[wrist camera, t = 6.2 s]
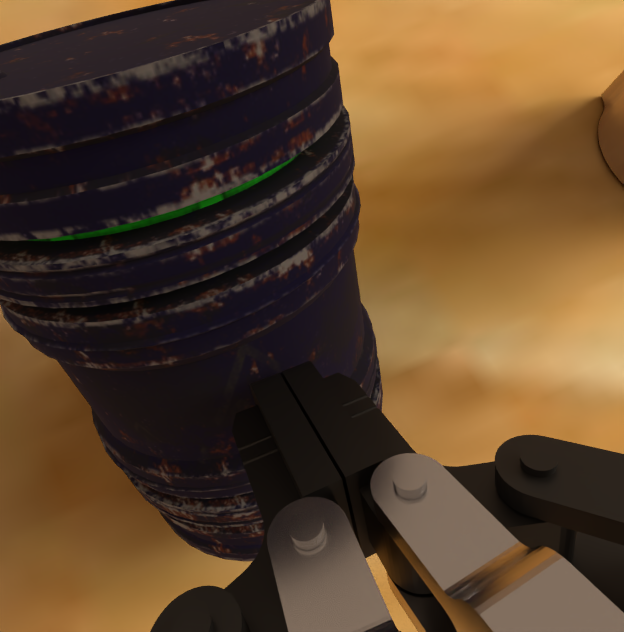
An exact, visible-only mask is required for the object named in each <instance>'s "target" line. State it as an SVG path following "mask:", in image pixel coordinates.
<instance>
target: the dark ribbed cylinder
mask: <svg viewBox="0 0 624 632" xmlns="http://www.w3.org/2000/svg"><path fill="white" fill-rule="evenodd" d="M333 35H334V28H333V20H332V12H331V4H330V0H174V1H169V2H165V3H160V4H155V5H151V6H146V7H142V8H137V9H133V10H129V11H124V12H120V13H116V14H112V15H108V16H104V17H100V18H96V19H92V20H88V21H84V22H80V23H76V24H72V25H69V26H65V27H61V28H58V29H54V30H50V31H47V32H43V33H40V34H36V35H32V36H29V37H25V38H22V39H19V40H15V41H12V42H9V43H5V44H2V45H0V305H1V308H2V312H3V315H4V318H5V319H6V320H7V322H8V323H9V324H10V325H11V327H12V328H13V329H14V330H15V331H17V332H18V333H20V334H21V335H23V336H24V337H26V338H27V340H28V341H29V342H30V343H31V345H32V346H33V347H34V348H36V349H37V350H39V351H40V352H42V353H44V354H45V355H47V356H48V357H50V358H53V359H56V360H57V361H58V362H59V363H60V365H61V366H62V368H63V369H64V370H65V372H66V373H67V374H68V376H69V377H70V379H71V380H72V381H73V383H74V384H75V385H76V387H77V388H78V389H79V391H80V392H81V394H82V395H83V396H84V398H85V399H86V400H87V402H88V403H89V405H90V406H91V408H92V415H93V422H94V425H95V427H96V429H97V431H98V434H99V436H100V438H101V441H102V443H103V445H104V448H105V450H106V452H107V453H108V455H109V456H110V457H111V458H112V460H113V461H114V462H115V464H116V465H117V466H118V467H120V468H121V469H122V470H123V471H124V473H125V474H126V475H127V477H128V478H129V479H130V480H131V482H132V483H133V484H134V486H135V487H136V488H137V489H138V491H139V492H140V493H141V495H142V496H143V497H144V498H145V500H147V501H148V502H149V503H150V504H152V505H153V506H154V507H155V508H157V509H158V510H159V511H160V513H161V515H162V516H163V517H164V519H165V520H166V521H167V523H168V524H169V525H170V526H171V528H172V529H173V530H174V532H175V533H176V534H177V535H178V536H180V537H181V538H182V539H183V540H184V541H186V542H187V543H188V544H189V545H191V546H193V547H195V548H196V549H198V550H200V551H202V552H204V553H206V554H209V555H213V556H216V557H219V558H223V559H228V560H238V561H254V559H255V558H256V556H257V554H258V553H259V550H260V548H261V546H262V542H263V538H264V523H263V519H262V516H261V513H260V510H259V507H258V504H257V502H256V499H255V496H254V493H253V490H252V487H251V485H250V482H249V479H248V476H247V473H246V470H245V468H244V465H243V462H242V459H241V456H240V453H239V450H238V448H237V445H236V442H235V439H234V436H233V433H232V428H233V423H234V419H235V414H236V413H238V412H241V411H243V410H246V409H248V408H251V407H253V406H256V404H255V401H254V398H253V395H252V392H251V389H250V384H251V383H254V382H256V381H259V380H261V379H264V378H267V377H269V376H272V375H274V374H277V373H280V375H281V372H282V371H284V370H287V369H289V368H292V367H295V366H297V365H300V364H302V363H305V362H307V361H311V362H312V363H313V365H314V366H315V368H316V369H317V370H318V372H319V373H320V374H321V376H322V377H323V378H325V377H328V376H330V375H333V374H335V373H340V374H343V375H345V376H347V377H349V378H351V379H353V380H355V381H356V382H357V383H358V384H359V385H360V387H361V388H362V389H363V390H364V391H365V393H366V394H367V396H368V397H370V399H371V400H372V401H373V402H374V403H375V405H376V407H377V408H379V409H380V411H381V412H382V397H383V392H382V383H381V375H380V368H379V360H378V357H377V347H376V338H375V335H374V332H373V329H372V323H371V321H370V318H369V315H368V313H367V310H366V309H365V307H364V306H363V304H362V303H361V301H360V293H359V286H358V279H357V272H356V264H355V257H354V250H353V248H354V246H355V244H356V242H357V237H358V231H359V220H358V217H359V212H360V206H361V204H360V197H359V192H358V190H357V188H356V186H355V184H354V180H353V170H354V166H355V161H354V153H353V144H352V136H351V127H350V120H349V113H348V112H347V110H346V109H345V107H344V106H343V100H342V92H341V84H340V76H339V68H338V63H337V62H336V61H335V60H334V59H333V58H332V57H331V55H330V48H329V42H330V40H331V39H332V37H333Z"/></svg>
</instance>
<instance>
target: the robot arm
mask: <svg viewBox="0 0 624 632" xmlns="http://www.w3.org/2000/svg"><path fill="white" fill-rule="evenodd" d="M602 99H603V101H604V106H605V108H604V111H603V113H602V116H601V118H600V120H599V127H598V137H599V145H600V148H601V151H602V153H603V156H604V158H605V160H606V162H607V164H608V165H609V167H610V169H611V170H612V172H613V173H614V174H615V175H616V176H617V178H618V179H619V180H620V181H621V182H622V183H623V184H624V70H623V72H622V73H621V74H620V75H619V76H618V77H617V78H616V79H615V80H614V81H613V82H612V84H611V85H610V86H609V87H608V88H607V89H606V90H605V91H604V92H603V93H602ZM250 389H251V392H252V395H253V398H254V401H255V404H256V406H253V407H251V408H248V409H246V410H243V411H241V412H238V413H236V414H235V419H234V423H233V428H232V433H233V436H234V439H235V442H236V445H237V448H238V450H239V453H240V456H241V459H242V462H243V465H244V468H245V470H246V473H247V476H248V479H249V482H250V485H251V487H252V490H253V493H254V496H255V499H256V502H257V504H258V507H259V510H260V513H261V516H262V519H263V523H264V538H263V542H262V546H261V548H260V550H259V553H258V554H257V556H256V558H255V559H254V561H253V562H252V563H251V565H250V566H249V567H248V568H247V569H246V570H245V571H244V572H243V573H242V574H241V575H240V576H239V577H237V578H236V579H235V580H234V581H233V582H232V583H231V584H230V585H228V586H227V587H226V588H225V589H222V588H219V587H216V586H201V587H197V588H193V589H191V590H189V591H186V592H185V593H183V594H181V595H180V596H178V597H177V598H176V599H174V600H173V601H172V602H171V603H170V604H169V605H168V606H167V607H166V608H165V609H164V610H163V612H162V613H161V614H160V616H159V617H158V619H157V620H156V622H155V624H154V626H153V628H152V629H151V631H150V632H401V631H398V629H397V628H396V626H395V624H394V622H393V620H392V618H391V616H390V614H389V611H388V609H387V607H386V604H385V602H384V600H383V598H382V595H381V593H380V591H379V589H378V586H377V584H376V582H375V579H374V577H373V575H372V573H371V570H370V568H369V566H368V564H367V561H366V559H365V558H367V557H369V556H371V555H373V554H375V553H377V555H378V557H379V558H380V560H381V562H382V564H383V565H384V567H385V569H386V572H387V577H388V583H389V586H390V589H391V590H392V592H393V594H394V596H395V597H396V599H397V600H398V602H399V603H400V605H401V606H402V608H403V609H404V611H405V612H406V614H407V615H408V617H409V618H410V620H411V622H412V623H413V625H414V626H415V628H416V629H417V631H418V632H624V454H620V453H616V452H612V451H607V450H603V449H598V448H594V447H589V446H585V445H580V444H576V443H572V442H567V441H563V440H558V439H554V438H549V437H545V436H539V435H522V436H517V437H514V438H511V439H509V440H507V441H506V442H504V443H503V444H502V445H501V446H500V447H499V448H498V450H497V452H496V455H495V462H488V463H482V464H475V465H468V466H459V467H449V466H442V465H441V464H440V463H439V462H437V461H436V460H434V459H432V458H430V457H428V456H425V455H421V454H417V453H416V452H415V451H414V450H413V449H412V448H411V447H410V446H409V444H408V443H407V442H406V441H405V440H404V438H403V437H402V436H401V435H400V434H399V432H398V431H397V430H396V429H395V428H394V426H393V425H392V424H391V423H390V422H389V420H388V419H387V418H386V417H385V416H384V414H383V413H382V412H381V411H380V409H379V408H377V407H376V405H375V403H374V402H373V401H372V400H371V399H370V397H368V396H367V394H366V393H365V391H364V390H363V389H362V388H361V387H360V385H359V384H358V383H357V382H356V381H355V380H353V379H351V378H349V377H347V376H345V375H343V374H340V373H335V374H333V375H330V376H328V377H325V378H323V377H322V376H321V374H320V373H319V372H318V370H317V369H316V368H315V366H314V365H313V363H312V362H311V361H307V362H305V363H302V364H300V365H297V366H295V367H292V368H289V369H287V370H284V371H282V372H281V375H280V373H277V374H274V375H272V376H269V377H267V378H264V379H261V380H259V381H256V382H254V383H251V384H250Z"/></svg>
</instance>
